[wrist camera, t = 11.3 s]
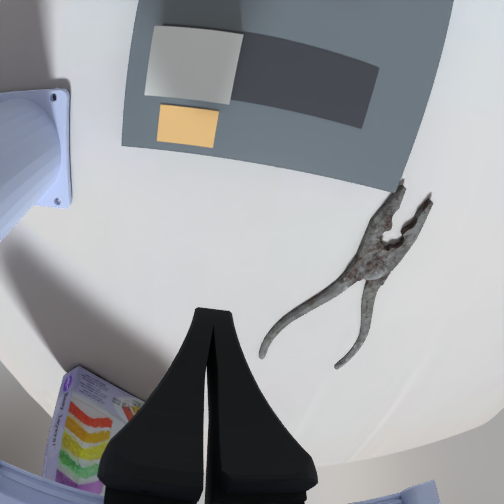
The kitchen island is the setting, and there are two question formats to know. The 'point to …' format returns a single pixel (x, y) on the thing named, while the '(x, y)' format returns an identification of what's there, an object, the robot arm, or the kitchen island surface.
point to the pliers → (364, 269)
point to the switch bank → (299, 84)
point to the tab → (192, 64)
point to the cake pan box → (85, 428)
